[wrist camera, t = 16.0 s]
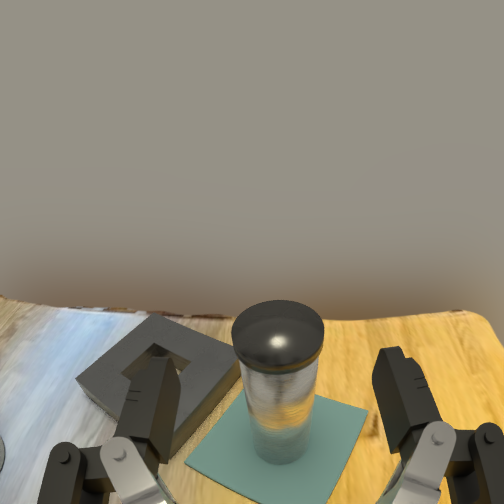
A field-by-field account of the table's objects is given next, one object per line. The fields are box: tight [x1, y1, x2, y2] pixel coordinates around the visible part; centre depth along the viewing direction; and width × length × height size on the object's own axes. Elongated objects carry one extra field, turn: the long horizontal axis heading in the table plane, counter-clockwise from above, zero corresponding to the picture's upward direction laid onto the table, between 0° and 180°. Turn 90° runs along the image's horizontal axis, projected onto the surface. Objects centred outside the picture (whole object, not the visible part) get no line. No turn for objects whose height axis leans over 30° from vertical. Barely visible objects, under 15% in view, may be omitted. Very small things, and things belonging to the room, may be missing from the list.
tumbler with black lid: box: [231, 300, 324, 465], centre depth 22 cm, size 5×5×15 cm
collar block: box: [75, 313, 241, 459], centre depth 32 cm, size 14×14×3 cm
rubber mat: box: [184, 389, 368, 504], centre depth 26 cm, size 13×13×1 cm
